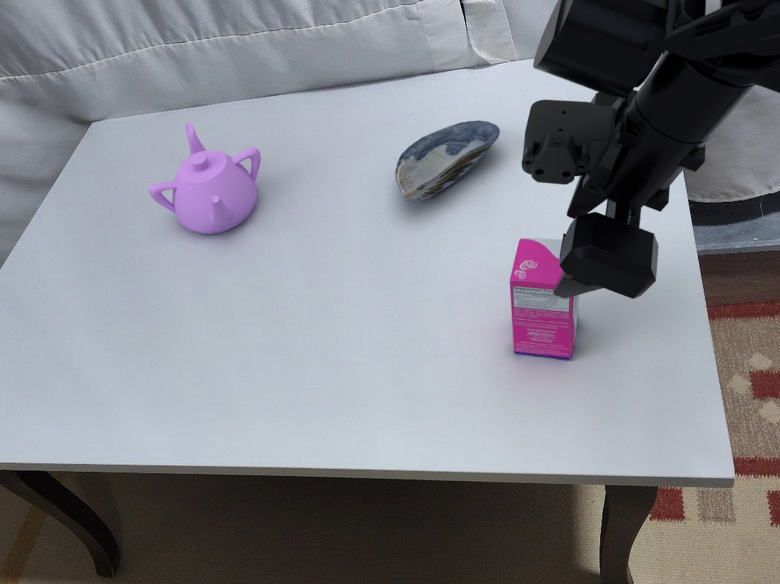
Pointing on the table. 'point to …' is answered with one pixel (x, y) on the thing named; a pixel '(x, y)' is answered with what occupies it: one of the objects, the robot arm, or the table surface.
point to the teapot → (211, 188)
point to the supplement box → (541, 302)
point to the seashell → (442, 158)
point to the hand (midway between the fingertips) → (565, 254)
